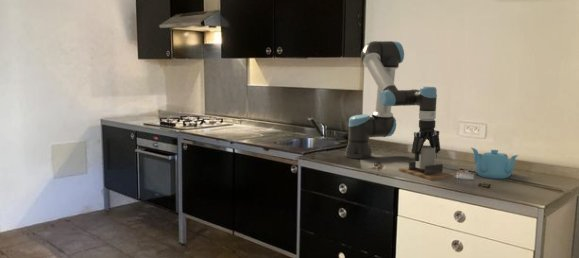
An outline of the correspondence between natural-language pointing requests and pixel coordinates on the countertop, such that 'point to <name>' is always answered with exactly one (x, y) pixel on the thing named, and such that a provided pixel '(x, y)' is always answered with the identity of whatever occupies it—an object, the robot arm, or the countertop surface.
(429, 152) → the cup
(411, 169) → the end holder
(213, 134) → the countertop surface
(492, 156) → the teapot
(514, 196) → the countertop surface
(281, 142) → the countertop surface
